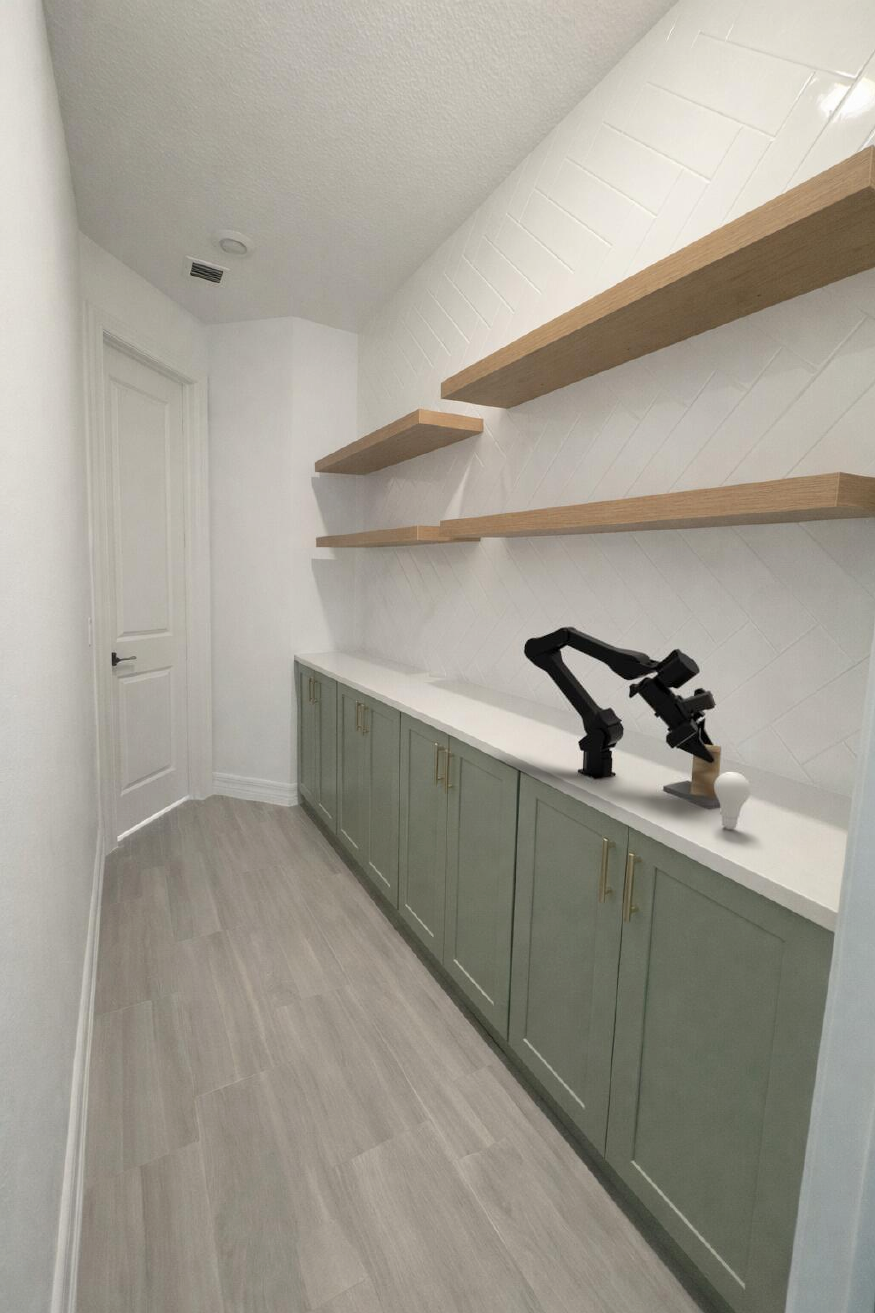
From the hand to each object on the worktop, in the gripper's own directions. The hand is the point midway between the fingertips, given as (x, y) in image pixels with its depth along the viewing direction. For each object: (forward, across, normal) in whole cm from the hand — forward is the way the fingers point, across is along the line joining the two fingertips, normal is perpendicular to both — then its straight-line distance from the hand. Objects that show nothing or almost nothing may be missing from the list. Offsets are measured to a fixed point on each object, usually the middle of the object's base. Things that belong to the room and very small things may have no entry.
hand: (714, 757), depth 127 cm
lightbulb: (+10, -15, +3) cm, 18 cm away
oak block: (+5, 0, +7) cm, 8 cm away
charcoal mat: (+5, 0, +8) cm, 9 cm away
